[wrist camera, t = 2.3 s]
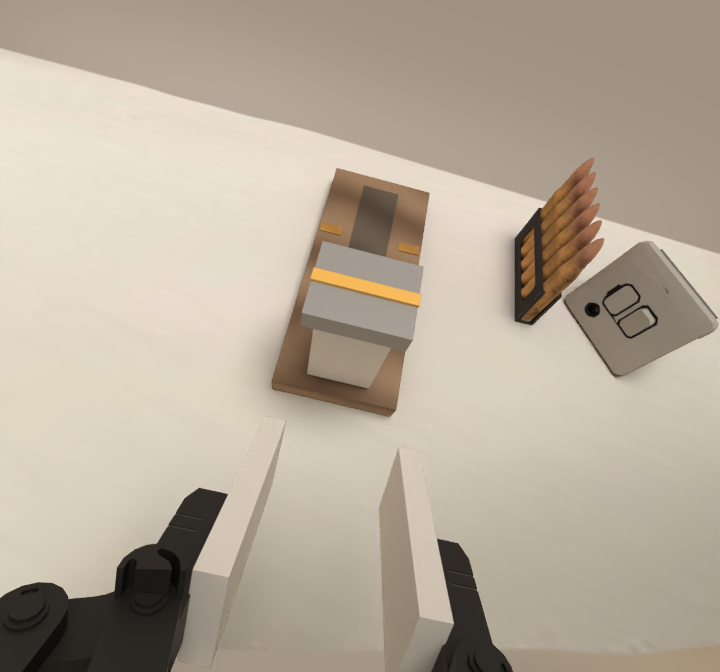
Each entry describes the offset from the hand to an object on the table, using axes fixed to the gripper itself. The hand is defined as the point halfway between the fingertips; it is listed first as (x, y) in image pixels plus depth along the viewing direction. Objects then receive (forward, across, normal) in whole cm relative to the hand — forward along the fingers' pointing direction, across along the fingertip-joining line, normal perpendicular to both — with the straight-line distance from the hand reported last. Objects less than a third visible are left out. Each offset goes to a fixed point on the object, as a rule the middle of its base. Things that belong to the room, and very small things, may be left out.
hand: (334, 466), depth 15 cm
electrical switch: (+29, +25, +3) cm, 39 cm away
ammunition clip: (+31, +17, +5) cm, 36 cm away
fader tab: (+19, 0, -3) cm, 19 cm away
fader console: (+27, 0, +1) cm, 27 cm away
